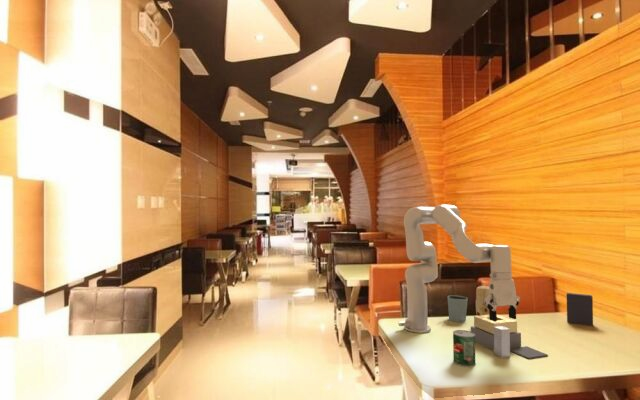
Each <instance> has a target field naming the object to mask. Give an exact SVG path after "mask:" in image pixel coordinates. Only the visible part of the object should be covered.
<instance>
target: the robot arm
mask: <svg viewBox="0 0 640 400" xmlns="http://www.w3.org/2000/svg"><path fill="white" fill-rule="evenodd" d="M434 224H435V225H439V226H440V227H441V228H442V229H443V230H444V231H445V232H446V233H447V234H448V235H449V236H450V237H451V240H452V243H453V245H454V247H455V249H456V251H458V252H459V254H461V255H462V256H463V258H465V260H467V261H469V262H470V263H474V264H478V263H486V262H487V263H488V262H490V273H489V277H490V280H489V285H488V286H489V296H488V297H486V298H485V299H484V303H485V306H486V307H487V308H488V310H489V319H490V320H492V321H497V315H498V314H497V311H496V309H497V307H508V309H507V310H508V318H510V319H512V320H517V309H518V306H519V305H520V299H521V296H519V295H517V291H516V290H517V289H516V285H515V280H514V279H513V277H512V276H513V275H512V273H513V272H512V252H511V251H512V249H511V247H510V246H509V245H504V244H495V245H494V244H490V243H477V244H476V243H475V242H473V241H472V240H471V239H470V237H469V236H467V234H466V231H467V227H468V225H467V223H466V222H465V221H464V220H463V219H462V218H461V211H460V210H459V208H458V207H457V206H455V205H452V204H438V205H436V206H414V207H411V208H410V209H407V211H406V213H405V215H404V217H403V225H404V226H403V227H404V231H405V247H406V255H407V258H408V260H409V261H411V262H420V263H416V264H415V263H413V264H411V265H409V266H407V268H406V269H405V273H404V277H405V282H406V291H407V293H406V295H407V297H406V298H407V302H406V303H407V304H406V305H407V306H406V307H407V308H406V309H407V311H406V312H407V313H406V314H407V318H405V320H404V321H399V322H398V326H399V327H404V328H403V329H404V330H405V331H407V332H411V333H416V334H418V333H419V334H425V333H429V332H431V330H432V327H431V326H430V325H428V290H427V287H426V285H425V284H426V283H431V282H433V281H435V280H436V279H437V277H438V274H439V273H438V258H437V257H438V256H437V250H436V248H435V246H434V244H433V243H431V242H429V241H425V240H424V232H423V230H422V228H421V226H420V225H434ZM489 302H490V304H489ZM493 305H494V306H493ZM492 306H493V307H492Z"/></svg>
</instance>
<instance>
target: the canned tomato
mask: <svg viewBox="0 0 640 400" xmlns="http://www.w3.org/2000/svg"><path fill="white" fill-rule="evenodd" d="M452 333H453V335H452V343H453V344H452V348H453V350H452V351H453V353H452V354H453V360H452V361H453V363H455V365H458V366H461V367H466V368H467V367H469V368H471V367H475V366H476V365H477V364H476V342H475V334H474V333H473V332H471V330H465V329H456V330H453V332H452Z"/></svg>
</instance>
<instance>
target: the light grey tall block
mask: <svg viewBox="0 0 640 400" xmlns="http://www.w3.org/2000/svg"><path fill="white" fill-rule="evenodd" d="M493 354H494V356H497V357H499V358H502V359H505V358H506V359H507V358H511V351H510V329H509V328H506V327H503V326H497V327H494V351H493Z"/></svg>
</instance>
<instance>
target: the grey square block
mask: <svg viewBox="0 0 640 400" xmlns="http://www.w3.org/2000/svg"><path fill="white" fill-rule="evenodd" d="M470 332H473V333H474V334H475V344H479V346H482V347H485V348H487V349H489V350H491V351H493V352H494V334H492V333H489V332H487V331H484V330H482V329H479V328H477V327H475V326H474V325H471V326H470ZM518 347H522V332H519V331H517V332H512V333H510V348H518Z"/></svg>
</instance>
